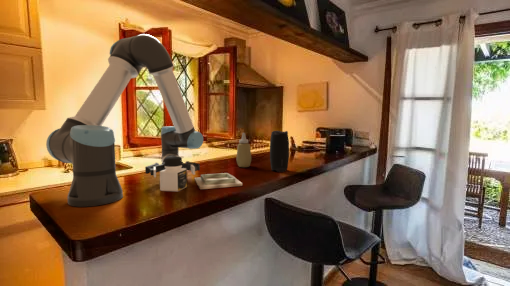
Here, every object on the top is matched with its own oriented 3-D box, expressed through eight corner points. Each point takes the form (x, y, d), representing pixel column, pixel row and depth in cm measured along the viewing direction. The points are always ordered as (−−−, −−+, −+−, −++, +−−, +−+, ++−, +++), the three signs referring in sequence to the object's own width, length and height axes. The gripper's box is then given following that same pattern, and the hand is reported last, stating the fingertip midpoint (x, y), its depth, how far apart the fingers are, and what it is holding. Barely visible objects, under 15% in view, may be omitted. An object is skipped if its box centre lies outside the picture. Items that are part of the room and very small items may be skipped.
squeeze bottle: (248, 168, 143) (248, 133, 141) (234, 167, 145) (233, 133, 144) (253, 165, 150) (253, 132, 149) (239, 164, 153) (239, 132, 151)
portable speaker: (270, 168, 141) (271, 130, 139) (289, 169, 139) (289, 130, 138) (268, 172, 133) (269, 131, 131) (288, 172, 131) (288, 131, 129)
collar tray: (200, 189, 101) (200, 182, 100) (194, 180, 116) (194, 174, 115) (242, 185, 106) (242, 179, 106) (231, 177, 121) (231, 171, 121)
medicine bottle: (178, 191, 97) (177, 158, 96) (159, 190, 99) (158, 157, 97) (187, 186, 104) (186, 155, 103) (169, 186, 105) (169, 154, 104)
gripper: (200, 169, 124) (209, 179, 104) (140, 173, 116) (137, 185, 96) (200, 153, 123) (209, 160, 103) (140, 155, 115) (136, 163, 95)
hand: (174, 172), depth 100 cm, fingers open, 13 cm apart
